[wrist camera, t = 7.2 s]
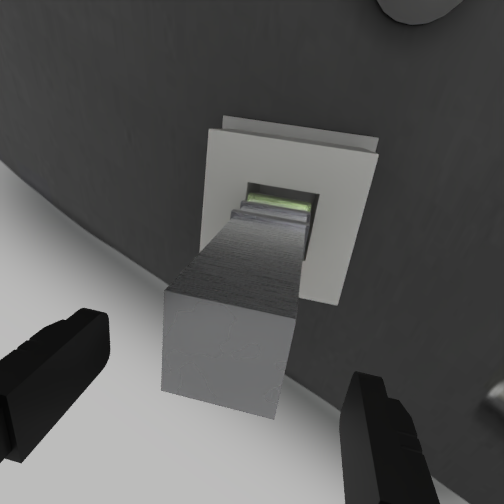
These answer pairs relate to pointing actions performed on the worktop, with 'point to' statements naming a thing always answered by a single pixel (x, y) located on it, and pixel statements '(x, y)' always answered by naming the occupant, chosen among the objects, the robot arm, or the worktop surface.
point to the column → (238, 308)
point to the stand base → (294, 188)
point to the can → (417, 10)
